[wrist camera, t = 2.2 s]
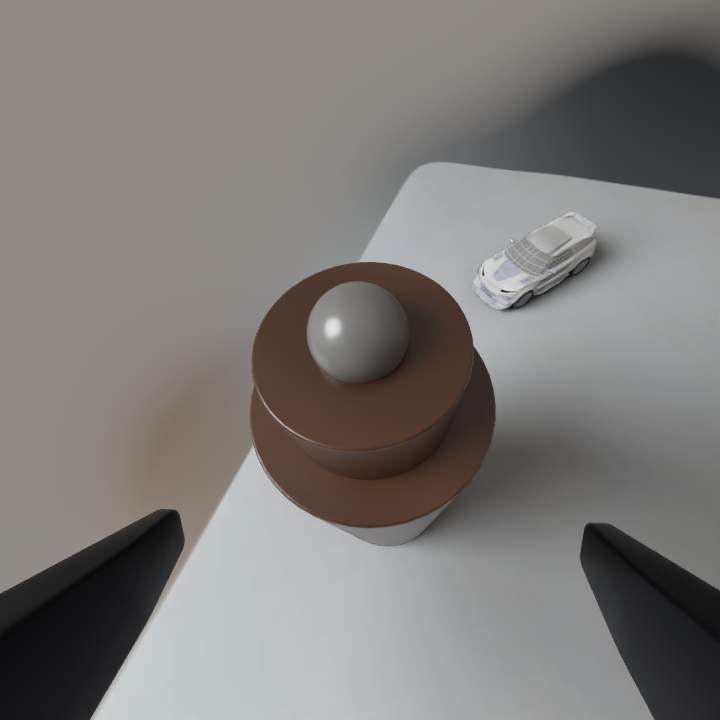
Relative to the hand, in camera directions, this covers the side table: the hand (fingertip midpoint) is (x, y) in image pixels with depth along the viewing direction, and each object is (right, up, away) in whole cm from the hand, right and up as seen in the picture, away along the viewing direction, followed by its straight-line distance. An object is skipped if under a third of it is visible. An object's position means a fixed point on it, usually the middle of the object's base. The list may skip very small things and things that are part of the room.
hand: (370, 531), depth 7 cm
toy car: (+11, +9, +15) cm, 21 cm away
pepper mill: (+1, -2, +9) cm, 10 cm away
